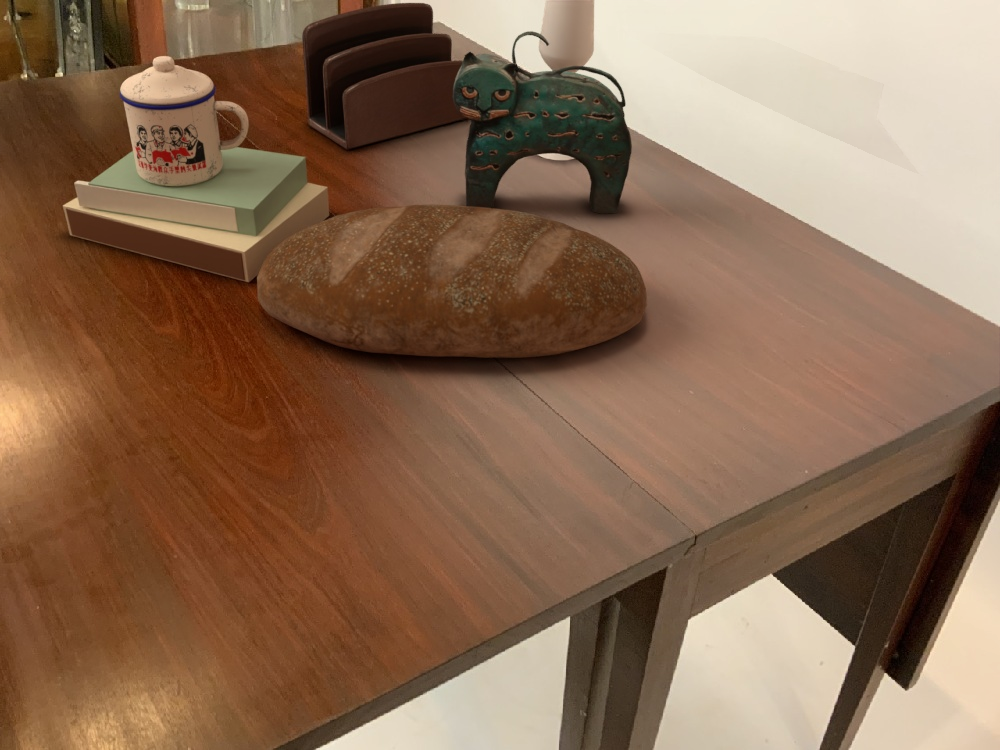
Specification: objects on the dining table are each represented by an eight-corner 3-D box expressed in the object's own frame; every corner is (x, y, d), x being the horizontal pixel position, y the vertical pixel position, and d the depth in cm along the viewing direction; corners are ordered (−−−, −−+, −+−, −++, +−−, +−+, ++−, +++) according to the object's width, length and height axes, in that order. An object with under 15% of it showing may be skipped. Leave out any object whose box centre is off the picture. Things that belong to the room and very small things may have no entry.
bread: (282, 243, 103) (274, 169, 98) (630, 255, 104) (640, 183, 99) (238, 365, 85) (226, 282, 80) (657, 378, 87) (671, 298, 81)
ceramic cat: (450, 215, 110) (453, 36, 98) (452, 189, 115) (455, 17, 103) (625, 220, 111) (649, 44, 99) (619, 195, 116) (640, 24, 104)
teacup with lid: (126, 189, 97) (103, 74, 90) (144, 151, 105) (124, 42, 98) (248, 189, 99) (235, 75, 92) (258, 151, 106) (246, 44, 99)
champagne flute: (582, 140, 129) (601, -53, 114) (584, 161, 123) (605, -39, 109) (531, 137, 128) (544, -56, 114) (531, 158, 123) (545, -42, 109)
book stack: (69, 235, 102) (55, 178, 99) (165, 176, 115) (156, 124, 111) (248, 283, 96) (240, 224, 93) (329, 215, 109) (325, 161, 105)
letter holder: (307, 125, 128) (298, 17, 120) (429, 96, 139) (429, -6, 130) (347, 151, 122) (341, 39, 114) (472, 119, 133) (475, 13, 124)
